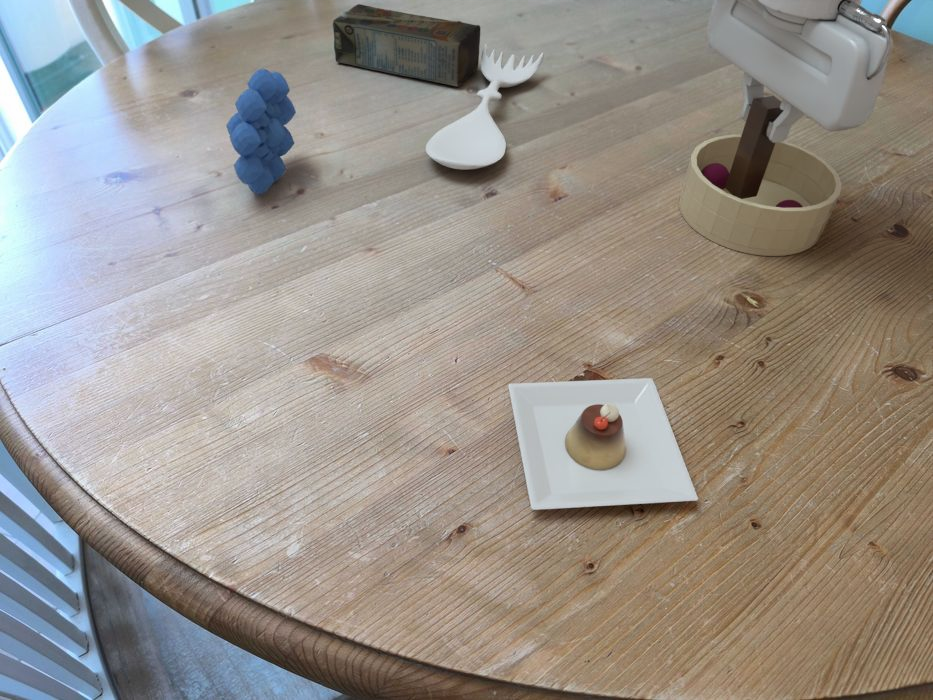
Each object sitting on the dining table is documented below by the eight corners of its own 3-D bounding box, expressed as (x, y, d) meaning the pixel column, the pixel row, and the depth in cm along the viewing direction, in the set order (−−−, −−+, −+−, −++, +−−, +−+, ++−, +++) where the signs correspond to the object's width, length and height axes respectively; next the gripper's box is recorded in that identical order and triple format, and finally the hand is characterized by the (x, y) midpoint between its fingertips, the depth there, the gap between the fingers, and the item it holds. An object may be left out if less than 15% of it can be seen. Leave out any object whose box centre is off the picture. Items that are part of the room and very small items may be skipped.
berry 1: (725, 177, 84) (714, 154, 83) (739, 185, 82) (728, 161, 80) (700, 194, 85) (689, 171, 83) (714, 202, 82) (702, 178, 80)
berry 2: (785, 217, 80) (796, 191, 78) (805, 234, 78) (816, 208, 76) (761, 222, 79) (770, 196, 77) (779, 239, 77) (790, 213, 75)
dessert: (529, 518, 52) (537, 477, 49) (506, 392, 61) (511, 350, 58) (694, 509, 54) (713, 468, 50) (649, 387, 62) (662, 345, 59)
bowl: (764, 169, 89) (780, 126, 85) (852, 242, 79) (874, 197, 75) (653, 188, 85) (664, 144, 81) (730, 267, 75) (746, 221, 71)
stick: (743, 184, 80) (773, 95, 73) (756, 196, 78) (788, 106, 71) (724, 188, 79) (752, 98, 72) (737, 200, 78) (768, 109, 71)
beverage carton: (359, 43, 110) (357, -4, 106) (481, 68, 106) (484, 21, 101) (333, 63, 105) (329, 15, 100) (460, 91, 100) (463, 42, 96)
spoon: (544, 73, 106) (547, 49, 103) (492, 189, 83) (494, 161, 81) (482, 64, 107) (483, 39, 105) (415, 175, 84) (414, 148, 82)
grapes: (259, 149, 87) (242, 46, 79) (313, 159, 86) (302, 55, 78) (210, 202, 79) (185, 93, 71) (270, 213, 78) (252, 104, 70)
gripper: (931, 22, 58) (860, 178, 68) (771, -57, 72) (730, 82, 81) (866, 30, 56) (802, 189, 66) (715, -52, 70) (680, 89, 80)
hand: (761, 129), depth 74 cm, fingers closed on stick, 2 cm apart
